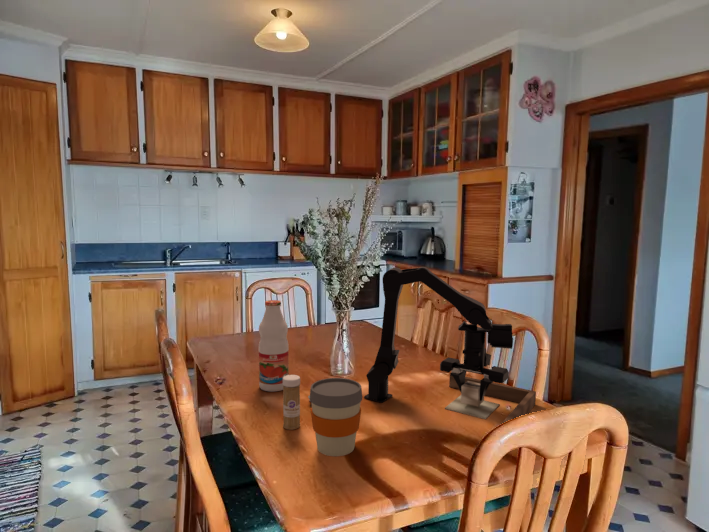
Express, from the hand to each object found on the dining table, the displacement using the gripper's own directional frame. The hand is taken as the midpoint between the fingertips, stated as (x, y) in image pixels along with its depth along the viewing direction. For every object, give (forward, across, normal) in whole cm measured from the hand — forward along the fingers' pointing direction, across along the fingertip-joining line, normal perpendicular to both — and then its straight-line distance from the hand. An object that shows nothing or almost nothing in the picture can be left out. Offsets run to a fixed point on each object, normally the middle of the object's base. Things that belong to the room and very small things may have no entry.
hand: (472, 398), depth 138 cm
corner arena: (+3, -1, +1) cm, 3 cm away
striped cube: (+1, 0, 0) cm, 1 cm away
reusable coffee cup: (+3, +18, +42) cm, 46 cm away
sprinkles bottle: (+3, +34, +40) cm, 53 cm away
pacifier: (+3, +38, +23) cm, 45 cm away
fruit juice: (+3, +58, +22) cm, 62 cm away
